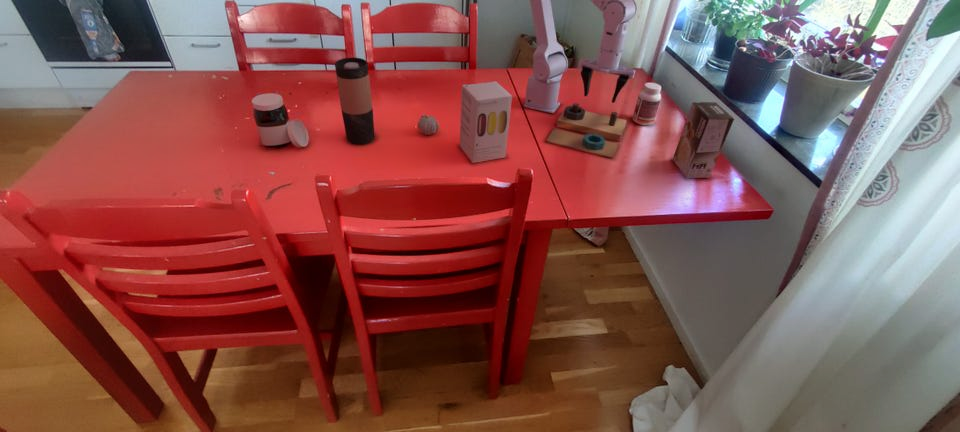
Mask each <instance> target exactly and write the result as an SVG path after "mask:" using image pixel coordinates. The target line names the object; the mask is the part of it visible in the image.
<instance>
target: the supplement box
mask: <svg viewBox="0 0 960 432" xmlns="http://www.w3.org/2000/svg"><path fill="white" fill-rule="evenodd" d="M512 99H513V95H512V94H511V93H510V92H509V91H508V90H507V89H506V88H504V87H503V86H502V85H501V84H500V83H499V82H498V81H496V80H494V81H486V82H478V83H471V84H470V83H469V84H461V101H460V126H459V127H460V128H459V147H460V149H461V150H462V151H463V153H464V154H465V155H466V157H467V158H468V159H469V160H470V162H471V163H472V164H476V163H481V162H486V161H493V160H498V159H504V158H506V155H507V146H508V138H509V137H508V135H509V129H510V128H509V126H510V118H511V108H512Z"/></svg>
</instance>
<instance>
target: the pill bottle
mask: <svg viewBox="0 0 960 432" xmlns="http://www.w3.org/2000/svg"><path fill="white" fill-rule="evenodd" d="M642 89H643V90H641V91H640V92H639V94H638V97H637V100H636V104H635V107H634V111H633V114H632V121H633V122H634V123H636V124H637V125H640V126H651V125H653V124H654V123H655V119H656V116H657V112H658V109H659V106H660V103H661V100H662V95H661V90H662V86H661V84H659V83H656V82H645V83H644V85H643V88H642Z"/></svg>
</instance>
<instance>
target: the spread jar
mask: <svg viewBox="0 0 960 432" xmlns="http://www.w3.org/2000/svg"><path fill="white" fill-rule="evenodd" d="M251 103H252V107H253V118H254V121H255V125H256V128H257V133H258V135H259V140H260V142H261V144H262V146H263V147H264V148H266V149H270V150H271V149H272V150H277V149H278V150H279V149H283V148H286V147H288V146H290V145H291V144H292V145H293V146H295V147H296V148H299V149H300V148H305V147H307V146H308V145H309V143H310V142H309V141H310V138H309V132H308V129H307V127H306V125H305V124H304V123H303V121H301V120H300V119H293V120H290V117H289V113H288V109H287V107H286V106H285V104H284V98H283V96H282V95H281V94H279V93H270V92H269V93H262V94H258V95H256V96H254V97H253V98H252V99H251Z"/></svg>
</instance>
